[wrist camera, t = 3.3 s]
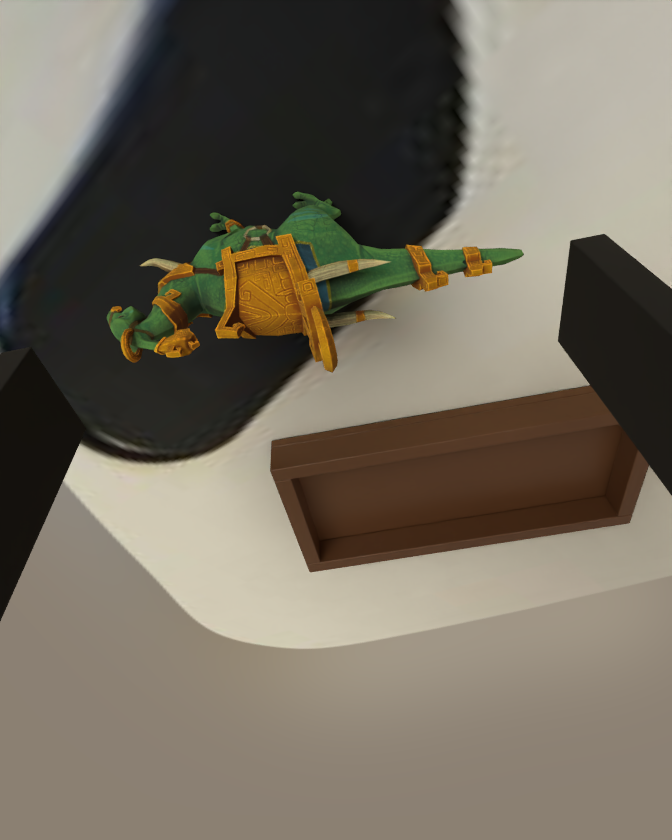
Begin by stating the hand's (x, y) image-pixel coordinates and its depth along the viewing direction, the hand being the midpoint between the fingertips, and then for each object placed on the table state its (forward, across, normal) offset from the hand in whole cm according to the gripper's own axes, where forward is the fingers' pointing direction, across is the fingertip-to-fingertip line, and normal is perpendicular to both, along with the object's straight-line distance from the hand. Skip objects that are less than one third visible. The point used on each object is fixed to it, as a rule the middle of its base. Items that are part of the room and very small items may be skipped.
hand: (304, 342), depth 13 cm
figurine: (+7, 0, 0) cm, 7 cm away
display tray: (+7, +5, -14) cm, 16 cm away
